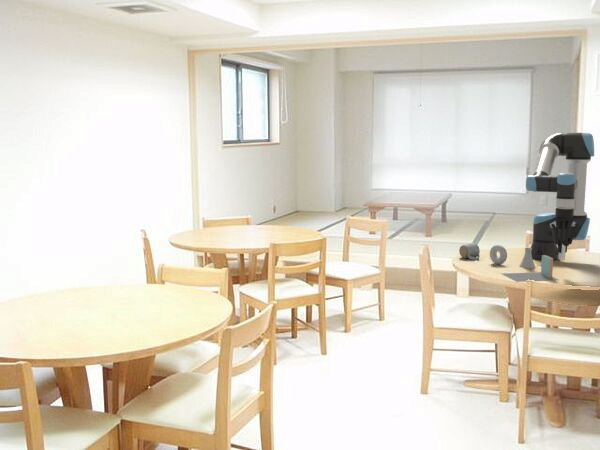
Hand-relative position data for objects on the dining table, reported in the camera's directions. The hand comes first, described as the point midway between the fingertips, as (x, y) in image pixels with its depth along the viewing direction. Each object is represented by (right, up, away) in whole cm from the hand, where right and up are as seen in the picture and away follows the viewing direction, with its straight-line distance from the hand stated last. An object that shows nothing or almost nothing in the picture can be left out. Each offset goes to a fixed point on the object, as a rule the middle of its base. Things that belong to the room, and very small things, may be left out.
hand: (561, 259), depth 290 cm
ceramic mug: (-29, -2, +45) cm, 54 cm away
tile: (-7, -7, 0) cm, 10 cm away
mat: (-15, -8, -1) cm, 17 cm away
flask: (-8, -6, +20) cm, 22 cm away
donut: (-20, -4, +30) cm, 36 cm away
